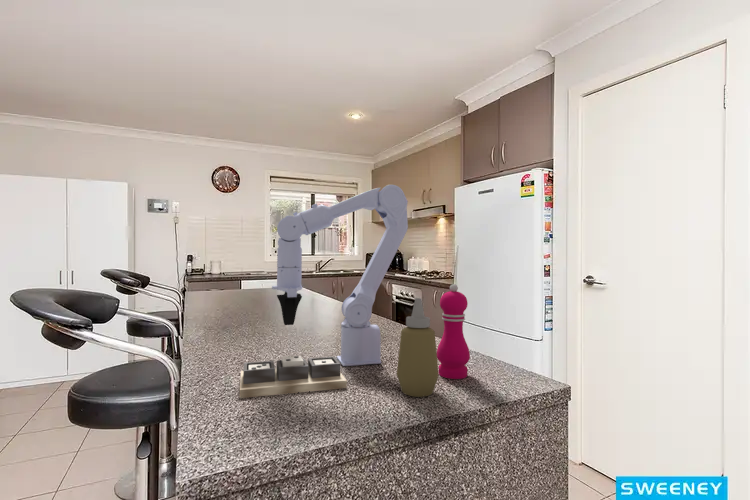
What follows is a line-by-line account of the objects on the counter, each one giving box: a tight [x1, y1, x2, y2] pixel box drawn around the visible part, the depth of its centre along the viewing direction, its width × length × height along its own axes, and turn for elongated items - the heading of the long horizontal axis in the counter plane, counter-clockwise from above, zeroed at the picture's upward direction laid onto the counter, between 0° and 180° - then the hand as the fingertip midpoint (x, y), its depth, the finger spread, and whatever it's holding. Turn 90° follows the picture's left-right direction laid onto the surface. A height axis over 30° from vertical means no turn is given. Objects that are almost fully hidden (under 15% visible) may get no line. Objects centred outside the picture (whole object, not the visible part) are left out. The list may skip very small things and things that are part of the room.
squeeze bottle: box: [396, 297, 440, 398], centre depth 76 cm, size 8×8×18 cm
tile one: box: [313, 359, 334, 365], centre depth 83 cm, size 4×4×2 cm
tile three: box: [249, 364, 270, 370], centre depth 79 cm, size 4×4×2 cm
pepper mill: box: [436, 283, 471, 380], centre depth 87 cm, size 7×7×20 cm
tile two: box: [281, 355, 304, 367], centre depth 81 cm, size 4×4×2 cm
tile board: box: [238, 356, 348, 399], centre depth 81 cm, size 20×12×4 cm, turn 107°
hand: (288, 324), depth 94 cm, fingers closed
